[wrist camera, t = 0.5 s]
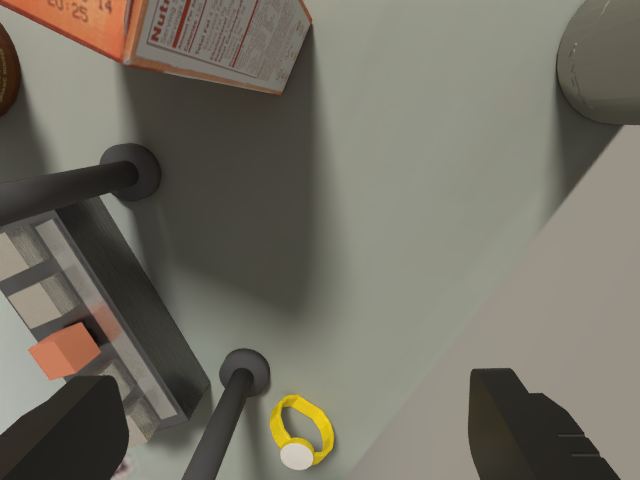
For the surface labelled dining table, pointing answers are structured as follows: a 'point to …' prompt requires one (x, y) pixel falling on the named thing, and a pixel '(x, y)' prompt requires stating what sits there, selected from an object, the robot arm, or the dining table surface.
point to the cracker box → (185, 35)
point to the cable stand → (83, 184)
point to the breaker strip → (102, 310)
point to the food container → (8, 72)
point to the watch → (297, 449)
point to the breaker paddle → (65, 351)
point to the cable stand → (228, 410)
